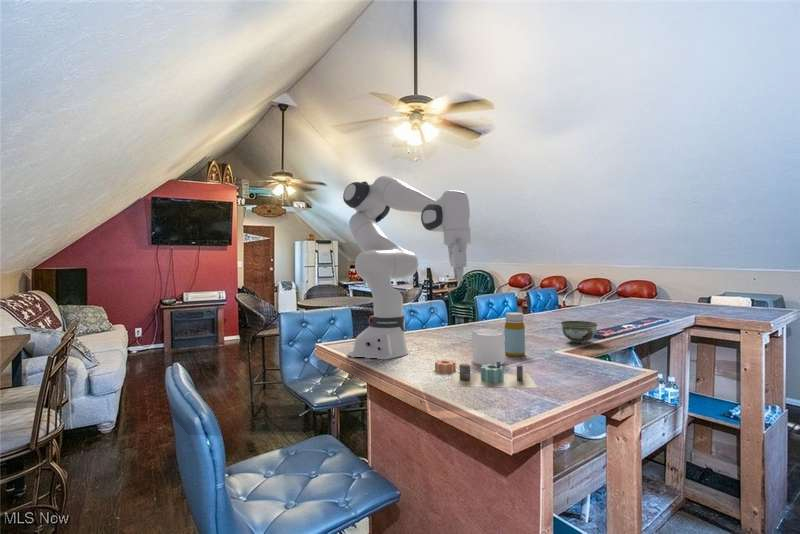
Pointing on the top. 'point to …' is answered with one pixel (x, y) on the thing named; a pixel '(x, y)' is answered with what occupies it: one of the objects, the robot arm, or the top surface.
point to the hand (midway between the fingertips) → (458, 280)
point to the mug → (488, 347)
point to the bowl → (579, 330)
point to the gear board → (474, 380)
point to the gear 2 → (492, 373)
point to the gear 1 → (445, 366)
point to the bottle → (514, 334)
